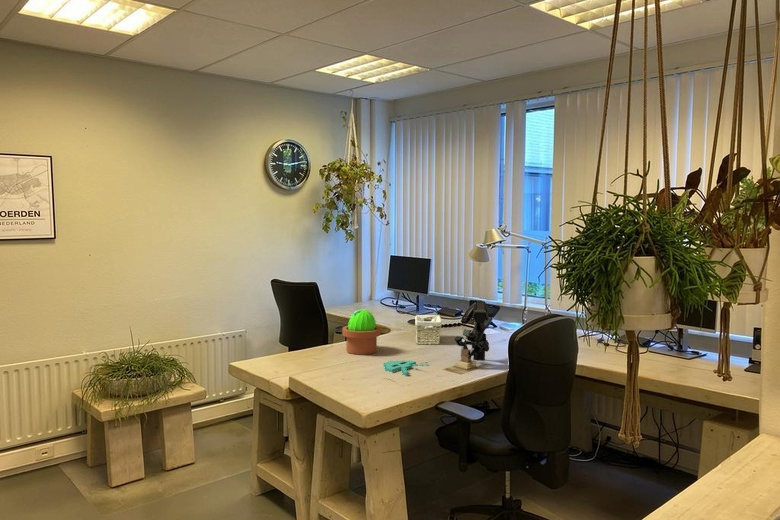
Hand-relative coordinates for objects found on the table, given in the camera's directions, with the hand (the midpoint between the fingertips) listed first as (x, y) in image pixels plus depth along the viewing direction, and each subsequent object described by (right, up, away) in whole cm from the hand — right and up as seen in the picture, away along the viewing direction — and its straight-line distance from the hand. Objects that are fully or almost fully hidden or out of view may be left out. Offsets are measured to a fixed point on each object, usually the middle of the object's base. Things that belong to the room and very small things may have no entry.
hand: (464, 357), depth 292 cm
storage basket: (-14, -2, +68) cm, 69 cm away
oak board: (-1, -7, -1) cm, 7 cm away
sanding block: (+1, -5, +2) cm, 6 cm away
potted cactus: (-55, -3, +39) cm, 67 cm away
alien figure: (-32, -7, +4) cm, 33 cm away
